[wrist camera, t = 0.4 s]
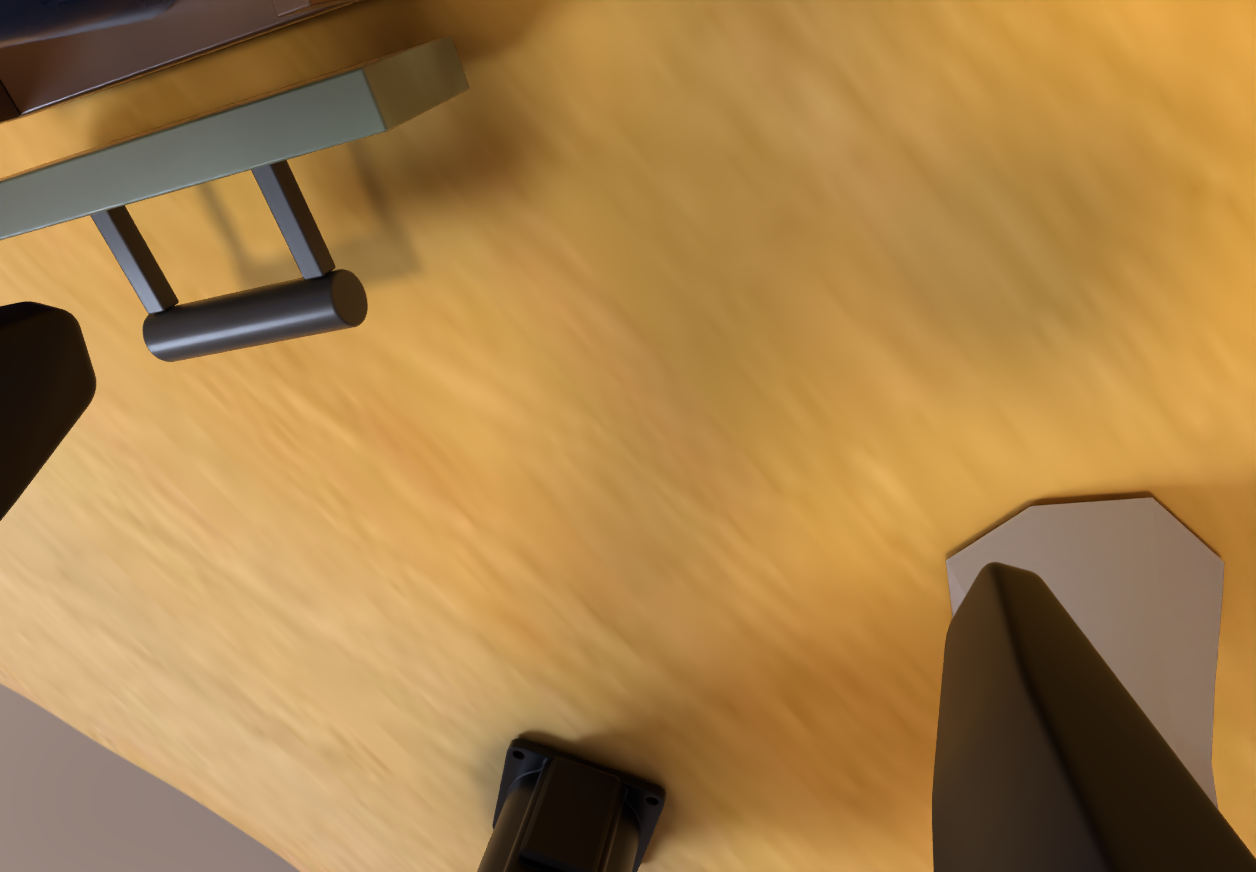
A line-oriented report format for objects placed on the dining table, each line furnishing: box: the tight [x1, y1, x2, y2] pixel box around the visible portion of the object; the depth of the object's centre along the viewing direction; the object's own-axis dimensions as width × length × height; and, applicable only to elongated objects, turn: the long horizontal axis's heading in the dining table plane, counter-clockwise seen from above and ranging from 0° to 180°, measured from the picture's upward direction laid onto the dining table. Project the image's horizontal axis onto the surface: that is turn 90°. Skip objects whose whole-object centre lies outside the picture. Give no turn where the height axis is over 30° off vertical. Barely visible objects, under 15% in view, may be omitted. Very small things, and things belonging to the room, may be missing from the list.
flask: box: [946, 497, 1224, 809], centre depth 20 cm, size 7×7×10 cm
